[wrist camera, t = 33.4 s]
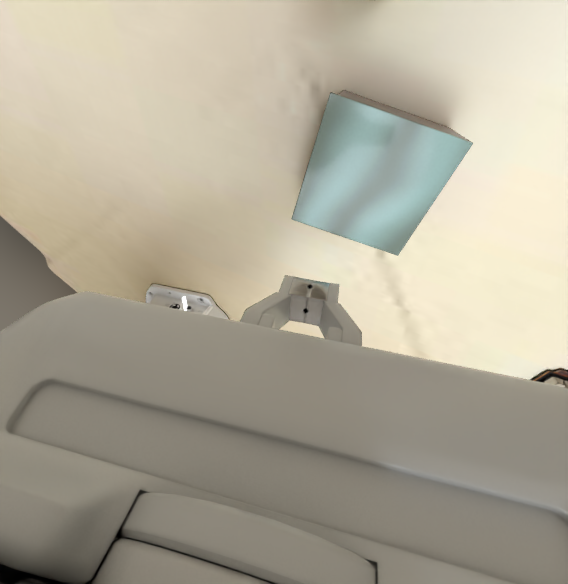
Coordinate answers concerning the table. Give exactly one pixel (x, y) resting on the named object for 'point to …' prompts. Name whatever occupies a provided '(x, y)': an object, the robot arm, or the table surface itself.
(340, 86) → the table surface
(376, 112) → the pale blue slab
